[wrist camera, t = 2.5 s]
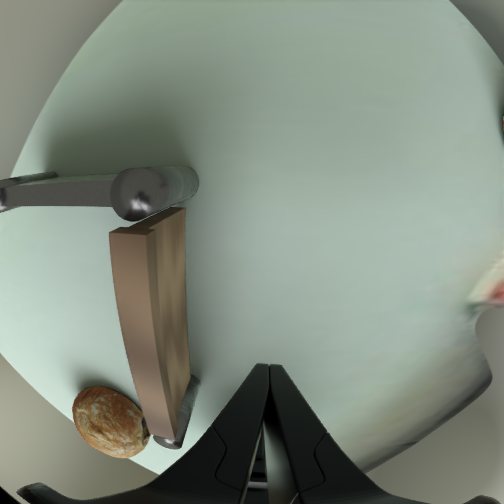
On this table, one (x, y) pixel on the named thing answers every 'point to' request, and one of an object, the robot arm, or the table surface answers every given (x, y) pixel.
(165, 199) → the gate frame
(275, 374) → the robot arm
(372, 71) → the table surface
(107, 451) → the bread roll
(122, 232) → the gate
